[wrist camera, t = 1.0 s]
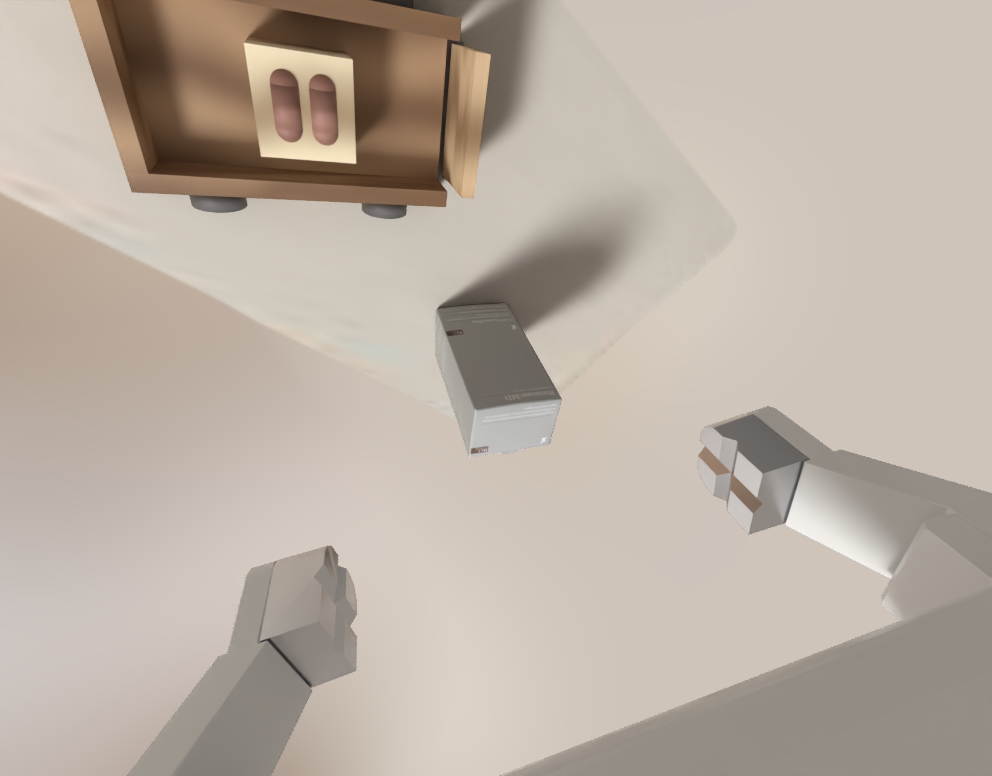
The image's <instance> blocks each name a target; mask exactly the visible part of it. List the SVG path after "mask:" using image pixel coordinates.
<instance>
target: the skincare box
mask: <svg viewBox="0 0 992 776" xmlns="http://www.w3.org/2000/svg"><path fill="white" fill-rule="evenodd" d="M435 355H436V358H437V361H438V365H439V368H440V371H441V374H442V377H443V380H444V383H445V386H446V389H447V392H448V395H449V397H450V400H451V404H452V407H453V410H454V413H455V416H456V418H457V421H458V424H459V427H460V431H461V434H462V437H463V440H464V443H465V446H466V449H467V453H468V456H469V457H476V456H481V455H488V454H495V453H503V454H510V453H514V452H516V451H518V450H521V449H526V448H532V447H539V446H545V445H549V444H550V440H551V437H552V433H553V430H554V426H555V422H556V418H557V416H558V412H559V409H560V405H561V401H562V399H561V397H560V395H559V393H558V391H557V390H556V388H555V386H554V384H553V383H552V381H551V379H550V377H549V376H548V374H547V372H546V370H545V369H544V367H543V365H542V363H541V362H540V360H539V358H538V356H537V355H536V353H535V351H534V349H533V347H532V346H531V344H530V342H529V341H528V339H527V337H526V335H525V333H524V332H523V330H522V328H521V326H520V325H519V323H518V321H517V319H516V317H515V316H514V314H513V312H512V311H511V309H510V307H509V305H508V304H506V303H498V304H483V305H469V306H457V307H448V308H440V309H437V310H436V346H435Z"/></svg>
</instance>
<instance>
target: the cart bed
mask: <svg viewBox="0 0 992 776" xmlns="http://www.w3.org/2000/svg"><path fill="white" fill-rule="evenodd" d="M69 2H70V5H71V8H72V11H73V14H74V17H75V20H76V23H77V26H78V29H79V32H80V35H81V38H82V41H83V44H84V48H85V51H86V54H87V57H88V60H89V63H90V66H91V69H92V72H93V75H94V78H95V81H96V84H97V87H98V90H99V93H100V96H101V99H102V102H103V105H104V109H105V112H106V115H107V118H108V121H109V124H110V127H111V130H112V133H113V136H114V139H115V142H116V145H117V148H118V151H119V154H120V157H121V160H122V163H123V166H124V170H125V173H126V176H127V179H128V182H129V185H130V188H131V191H132V192H137V193H158V194H180V195H189V196H190V199H191V203H192V206H193V207H194V208H196V209H199V210H202V211H207V212H216V213H226V212H235V211H239V210H242V209H244V208H246V207H247V200H246V198H265V199H286V200H307V201H329V202H350V203H362V211H363V212H364V213H366V214H368V215H370V216H373V217H378V218H385V219H395V218H401V217H403V216H405V215H406V207H407V205H414V206H435V207H446V200H447V191H446V190H445V188H444V187H443V186H442V184H441V183H440V182H439V181H438V166H439V152H440V138H441V123H442V109H443V95H444V80H445V66H446V52H447V39H448V40H454V41H459V42H460V32H461V20H462V19H461V18H456V17H451V16H446V15H441V14H436V13H431V12H426V11H421V10H416V9H413V0H69ZM247 37H252V38H258V39H264V40H271V41H277V42H283V43H290V44H296V45H302V46H309V47H315V48H321V49H328V50H334V51H340V52H346V53H347V54H348V55H349V56H350V57H351V58H352V59H353V81H354V111H355V141H356V164H353V163H339V162H326V161H313V160H300V159H287V158H274V157H261V153H260V147H259V140H258V134H257V127H256V120H255V114H254V107H253V101H252V94H251V88H250V81H249V74H248V68H247V61H246V55H245V48H244V42H245V40H246V39H247Z"/></svg>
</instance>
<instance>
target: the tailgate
mask: <svg viewBox="0 0 992 776" xmlns="http://www.w3.org/2000/svg"><path fill="white" fill-rule="evenodd" d="M490 59H491V54H488V53H485V52H482V51H479V50H476V49H473V48H470V47H467V46H464V42H461V41H460V42H459V41H454V40H453V44H452V48H451V61H450V75H449V88H448V101H447V114H446V128H445V141H444V154H443V168H442V175H443V177H444V178H446V180H447V181H448V182H449V183H450V184H451V186H452V187H453V188H454V189H455V190H456V192H457V193H458V194H459V195H460V196H461V197H463V198H474V193H475V185H476V176H477V168H478V159H479V151H480V143H481V134H482V126H483V118H484V109H485V101H486V93H487V84H488V76H489V67H490Z"/></svg>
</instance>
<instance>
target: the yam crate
mask: <svg viewBox="0 0 992 776" xmlns="http://www.w3.org/2000/svg"><path fill="white" fill-rule="evenodd" d="M244 48H245V55H246V61H247V68H248V74H249V81H250V88H251V94H252V101H253V107H254V114H255V120H256V127H257V134H258V140H259V147H260V153H261V157H274V158H287V159H300V160H313V161H326V162H339V163H353V164H356V141H355V111H354V81H353V59H352V58H351V57H350V56H349V55H348V54H347V53H346V52H340V51H334V50H328V49H321V48H315V47H309V46H302V45H296V44H290V43H283V42H277V41H271V40H264V39H258V38H252V37H247V39H246V40H245V42H244Z"/></svg>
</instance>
